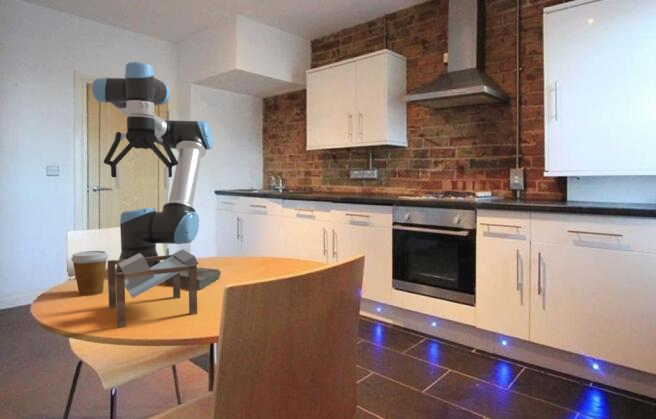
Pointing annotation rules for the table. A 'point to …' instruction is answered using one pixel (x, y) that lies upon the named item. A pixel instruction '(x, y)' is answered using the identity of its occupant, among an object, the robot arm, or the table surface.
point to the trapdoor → (174, 261)
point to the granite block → (135, 269)
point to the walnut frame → (118, 283)
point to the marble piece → (198, 278)
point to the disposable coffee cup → (90, 271)
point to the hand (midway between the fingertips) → (143, 188)
